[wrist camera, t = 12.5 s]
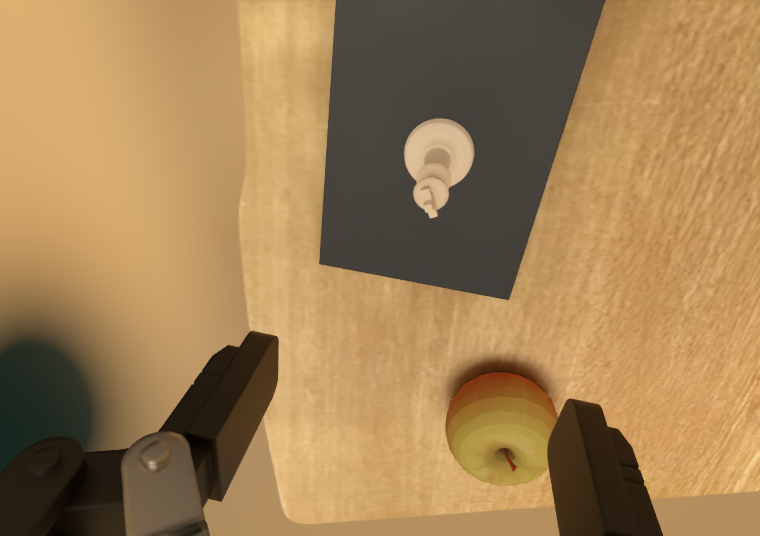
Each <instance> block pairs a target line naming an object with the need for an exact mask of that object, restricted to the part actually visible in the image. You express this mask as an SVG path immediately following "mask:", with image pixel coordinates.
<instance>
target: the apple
mask: <svg viewBox="0 0 760 536" xmlns="http://www.w3.org/2000/svg"><path fill="white" fill-rule="evenodd" d="M557 419H558V416H557V413H556V410H555V408H554V405H553V402H552V399H551V398H550V397H549V396H548V395H547V394H546V393H544V392H543V391H542V390H541V389H540V388H539V387H538V386H537V385H536V384H535V383H534V382H533V381H531V380H529V379H526V378H524V377H522V376H519V375H517V374H513V373H504V372H494V373H488V374H483V375H480V376H478V377H476V378H474V379H473V380H471V381H469V382H467V383H465V385H464V386H463V387H462V388H461V389H460V390H459V391H458V392H457V394H456V395H455V396H454V397H453V399H452V400H451V402H450V405H449V409H448V412H447V417H446V425H445V426H446V437H447V441H448V445H449V449H450V451H451V452H452V454H453V456H454V458H455V459H456V460H457V461H458V463H459V464H460V465H461V466H462V467H463V469H464V470H465V471H467V472H468V473H469V474H471V475H472V476H474V477H476V478H477V479H479V480H481V481H483V482H487V483H491V484H495V485H513V486H514V485H518V484H522V483H527V482H530V481H532V480H534V479H535V478H537V477H539V476H541V475H542V474H543V473H544V472H545V471H546V470H547V469H548V467H549V466H548V460H547V447H548V441H549V437H550V434H551V432H552V430H553V428H554V426H555V424H556V422H557Z"/></svg>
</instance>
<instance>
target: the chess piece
mask: <svg viewBox="0 0 760 536" xmlns="http://www.w3.org/2000/svg"><path fill="white" fill-rule="evenodd" d="M404 158H405V164H406V167H407V169H408V171H409V173H410V175H411V176H412V177H413V178H414V179H415V180H416V183H417V184H416V185H415V187H414V191H413V196H414V200H415V202H416V203H417V205H418V206H419V207H421V208H422V209H424V210H425V213H427V212H428V214H429V217H430V218H434V217H437V216H438V212H437V210H438V209H440V208H441V207H443V206H444V205H445V204H446V202H447V200H448V197H449V190H448V189H449V187H451V186H453V185H455V184H457V183H458V182H460V181H461V180H462V179H463V178H464V177H465V176H466V175H467V173H468V172H469V170H470V168H471V166H472V163H473V159H474V145H473V142H472V139H471V137H470V135H469V133H468V132H467V131H466V130H465V129H464V128H463V127H462V126H461V125H460V124H458V123H456V122H454V121H452V120H449V119H443V118H437V119H431V120H428V121H425V122H423V123H421V124H420V125H418V126H417V127H416V128H415V129H414V130H413V131H412V132H411V134H410V135H409V137H408V139H407V141H406V144H405V149H404Z"/></svg>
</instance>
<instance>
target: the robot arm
mask: <svg viewBox="0 0 760 536" xmlns="http://www.w3.org/2000/svg"><path fill="white" fill-rule="evenodd" d="M278 346H279V341H278V337H277V336H274V335H269V334H265V333H260V332H255V331H250V332H249V333H248V335H247V336H246V338H245V339H244V341H243V342H242V344H241V345H240V347H235V346H230V345H228V346H226V347H225V348H223V349H222V350H220V351H219V352H217V353H216V354H214V355H213V356H212V357H211V358H210V360H209V361H208V363H207V364H206V366H205V367H204V368H203V370H202V373H200V374H199V375H198V377H197V378H196V380H195V381H194V384H193V385H191V387H190V388H189V390H188V391H187V392H186V394H185V395H184V396H183V398H182V399H181V401H180V402H179V404H178V405H177V406H176V408H175V409H174V410H173V412H172V413H171V415H170V416H169V418H168V419H167V420H166V422H165V423H164V425H163V426H162V427H161V428H160V430H159V431H158V432H155V433H152V434H149V435H146V436H144V437H142V438H140V439H139V440H137V441H136V442H135V443H133V444H132V445H131V446H130V447H129V448H127V449H121V450H110V451H96V452H83V449H82V446H81V445H80V443H79V442H77V441H76V440H74V439H72V438H69V437H52V438H47V439H43V440H41V441H38V442H36V443H34V444H32V445H30V446H29V447H27V448H25V449H24V450H22V451H21V452H20V453H18V455H16V457H14V459H13V460H12V461H11V462H10V463H9V464H8V465H7V466H6V467H5V469H4V470H3V471H2V472H1V473H0V536H210V534H209V529H208V526H207V523H206V521H205V517H204V513H203V508H204V505H205V504H206V502H207V500H208V499H212V500H216V501H220V502H221V501H222V500H223V498H224V496H225V494H226V491H227V489H228V487H229V485H230V483H231V481H232V479H233V477H234V475H235V473H236V471H237V469H238V467H239V465H240V463H241V461H242V459H243V457H244V455H245V453H246V451H247V449H248V447H249V444H250V442H251V441H252V438H253V436H254V434H255V432H256V430H257V428H258V426H259V424H260V422H261V420H262V418H263V416H264V414H265V412H266V410H267V408H268V406H269V404H270V402H271V400H272V398H273V395H274V392H275V389H276V386H277V381H278ZM547 460H548V466H549V472H550V478H551V484H552V491H553V497H554V503H555V509H556V515H557V521H558V528H559V534H560V536H663V534H662V531H661V528H660V525H659V522H658V520H657V517H656V514H655V511H654V508H653V505H652V503H651V500H650V497H649V494H648V491H647V488H646V486H644V480H643V477H642V474H641V471H640V470H639V469H638V467H639V465H638V463H637V460H636V457H635V454H634V451H633V448H632V447H631V445H630V444H629V443H628V441H627V440H626V439H625V437H624V436H623V435H622V433H621V432H620V431H619V430H618V429H616V428H611V427H608V426H607V423H606V420H605V417H604V413H603V410H602V408H601V406H600V405H599V404H595V403H590V402H585V401H580V400H575V399H568V400H567V401H566V403H565V405H564V407H563V409H562V411H561V413H560V415H559V417H558V419H557V422H556V424H555V426H554V428H553V430H552V432H551V434H550V437H549V441H548V447H547Z"/></svg>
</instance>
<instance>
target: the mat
mask: <svg viewBox="0 0 760 536" xmlns="http://www.w3.org/2000/svg"><path fill="white" fill-rule="evenodd" d="M604 2H605V0H336V9H335V25H334V41H333V57H332V72H331V88H330V104H329V120H328V136H327V152H326V167H325V183H324V199H323V215H322V231H321V246H320V262H319V264H322V265H327V266H333V267H338V268H343V269H348V270H354V271H359V272H364V273H369V274H375V275H380V276H385V277H390V278H396V279H401V280H406V281H411V282H417V283H422V284H427V285H432V286H437V287H443V288H448V289H453V290H458V291H464V292H469V293H474V294H479V295H485V296H490V297H495V298H500V299H506V300H509V298H510V295H511V291H512V288H513V285H514V282H515V279H516V276H517V273H518V270H519V267H520V263H521V260H522V257H523V254H524V251H525V248H526V245H527V242H528V239H529V235H530V232H531V229H532V226H533V223H534V220H535V217H536V214H537V211H538V207H539V204H540V201H541V198H542V195H543V192H544V189H545V186H546V183H547V179H548V176H549V173H550V170H551V167H552V164H553V161H554V158H555V155H556V151H557V148H558V145H559V142H560V139H561V136H562V133H563V130H564V127H565V123H566V120H567V117H568V114H569V111H570V108H571V105H572V102H573V99H574V95H575V92H576V89H577V86H578V83H579V80H580V77H581V74H582V71H583V67H584V64H585V61H586V58H587V55H588V52H589V49H590V46H591V43H592V39H593V36H594V33H595V30H596V27H597V24H598V21H599V18H600V15H601V11H602V8H603V5H604ZM437 118H443V119H449V120H452V121H454V122H456V123H458V124H460V125H461V126H462V127H463V128H464V129H465V130H466V131H467V132H468V133H469V135H470V137H471V139H472V142H473V145H474V159H473V163H472V166H471V168H470V170H469V172H468V173H467V175H466V176H465V177H464V178H463V179H462V180H461V181H460V182H458V183H457V184H455V185H453V186H451V187H449V189H448V190H449V197H448V200H447V202H446V204H445V205H444V206H443V207H441V208H440V209H438V210H437V212H438V216H437V217H434V218H430V217H429V214H428V212H427V213H425V210H424V209H422V208H421V207H419V206H418V205H417V203H416V202H415V200H414V196H413V191H414V187H415V185H416V184H417V183H416V180H415V179H414V178H413V177H412V176H411V175H410V173H409V171H408V169H407V167H406V164H405V158H404V149H405V144H406V141H407V139H408V137H409V135H410V134H411V132H412V131H413V130H414V129H415V128H416V127H417V126H418V125H420V124H421V123H423V122H425V121H428V120H431V119H437Z"/></svg>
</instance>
